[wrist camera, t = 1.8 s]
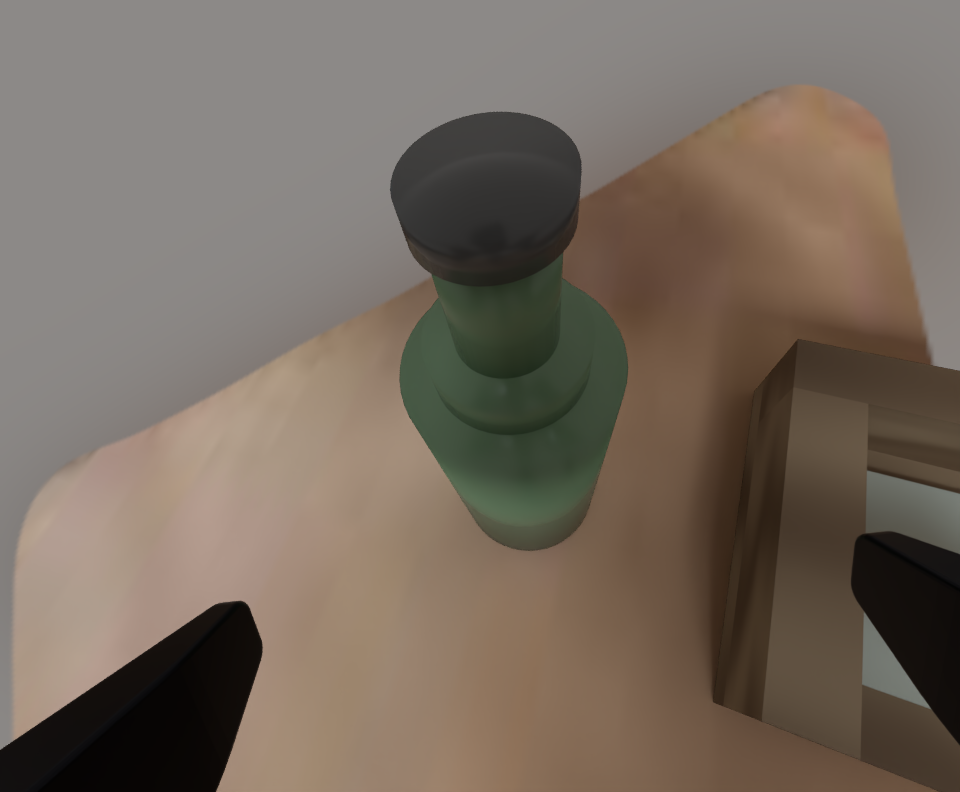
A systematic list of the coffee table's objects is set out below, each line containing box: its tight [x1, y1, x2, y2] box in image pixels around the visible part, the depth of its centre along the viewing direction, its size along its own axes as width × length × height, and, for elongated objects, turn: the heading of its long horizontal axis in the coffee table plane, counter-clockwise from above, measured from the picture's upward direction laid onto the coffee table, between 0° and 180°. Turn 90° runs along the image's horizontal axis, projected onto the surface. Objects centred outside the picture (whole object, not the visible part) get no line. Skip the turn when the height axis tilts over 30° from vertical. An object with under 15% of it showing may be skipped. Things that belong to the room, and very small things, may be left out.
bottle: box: [390, 112, 628, 551], centre depth 13 cm, size 5×5×15 cm
